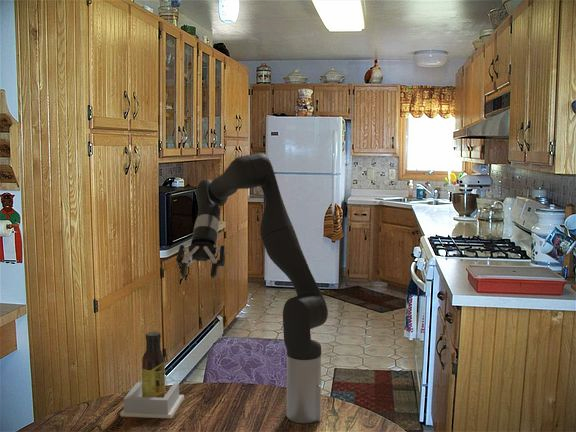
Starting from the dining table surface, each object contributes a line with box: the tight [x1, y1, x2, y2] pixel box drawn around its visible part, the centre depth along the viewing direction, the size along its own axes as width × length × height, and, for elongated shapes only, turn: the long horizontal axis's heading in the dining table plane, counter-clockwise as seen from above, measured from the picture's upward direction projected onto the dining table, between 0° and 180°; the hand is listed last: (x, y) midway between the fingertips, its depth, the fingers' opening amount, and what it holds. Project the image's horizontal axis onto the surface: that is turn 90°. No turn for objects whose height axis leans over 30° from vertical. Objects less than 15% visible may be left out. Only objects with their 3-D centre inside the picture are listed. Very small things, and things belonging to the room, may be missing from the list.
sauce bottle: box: [141, 331, 166, 398], centre depth 162 cm, size 7×6×20 cm
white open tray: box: [120, 381, 185, 419], centre depth 163 cm, size 14×13×5 cm
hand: (197, 276), depth 172 cm, fingers open, 8 cm apart
